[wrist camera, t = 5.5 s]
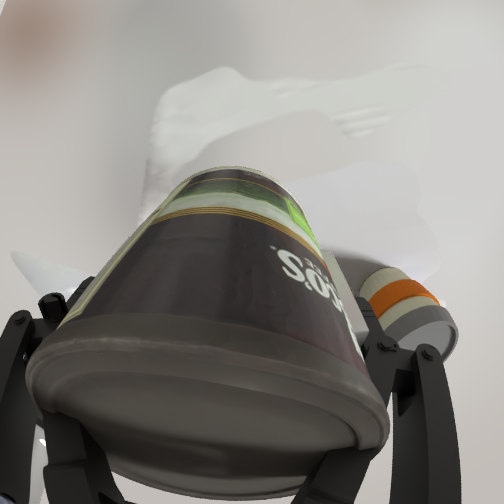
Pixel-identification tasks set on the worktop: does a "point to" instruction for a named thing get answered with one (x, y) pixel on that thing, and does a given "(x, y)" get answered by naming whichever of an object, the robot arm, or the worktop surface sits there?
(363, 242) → the worktop surface
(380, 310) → the reusable coffee cup
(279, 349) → the coffee can
